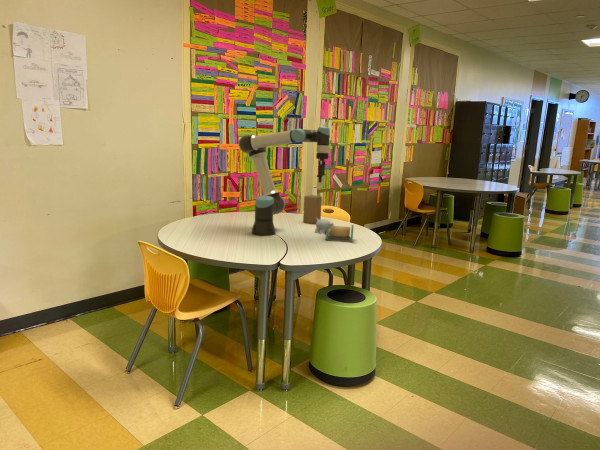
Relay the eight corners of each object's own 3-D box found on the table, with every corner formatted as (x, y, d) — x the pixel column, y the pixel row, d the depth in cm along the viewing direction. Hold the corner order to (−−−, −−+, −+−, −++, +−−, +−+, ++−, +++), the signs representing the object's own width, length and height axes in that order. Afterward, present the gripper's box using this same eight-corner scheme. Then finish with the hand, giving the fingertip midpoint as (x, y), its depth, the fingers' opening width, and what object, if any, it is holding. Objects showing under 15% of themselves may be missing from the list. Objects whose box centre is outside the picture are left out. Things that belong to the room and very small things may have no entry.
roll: (329, 237, 265) (330, 226, 264) (330, 235, 272) (330, 224, 271) (349, 239, 263) (350, 227, 262) (349, 237, 270) (350, 226, 269)
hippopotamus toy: (330, 235, 278) (331, 221, 276) (311, 232, 286) (311, 218, 285) (338, 233, 287) (339, 219, 285) (319, 229, 295) (320, 216, 293)
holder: (325, 240, 264) (326, 226, 262) (326, 236, 274) (327, 223, 272) (352, 242, 262) (353, 228, 260) (352, 238, 272) (353, 224, 270)
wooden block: (320, 222, 322) (322, 196, 318) (314, 224, 313) (315, 197, 309) (309, 220, 327) (310, 194, 323) (302, 222, 319) (303, 195, 315)
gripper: (327, 153, 253) (325, 189, 257) (330, 152, 278) (328, 185, 282) (314, 152, 254) (312, 188, 258) (318, 151, 278) (316, 184, 283)
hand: (320, 186), depth 270 cm, fingers open, 13 cm apart
